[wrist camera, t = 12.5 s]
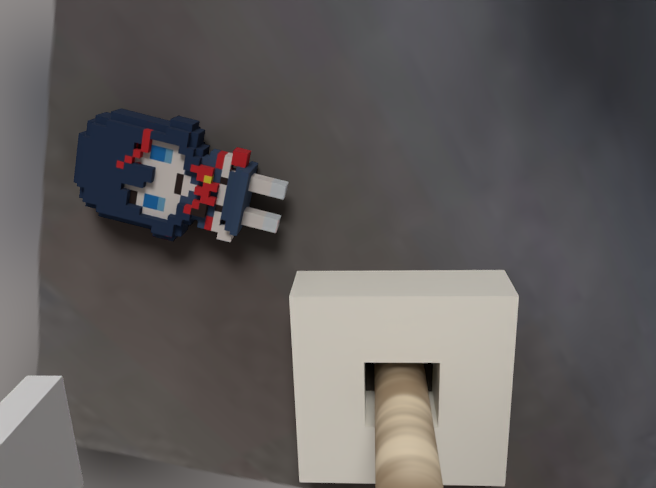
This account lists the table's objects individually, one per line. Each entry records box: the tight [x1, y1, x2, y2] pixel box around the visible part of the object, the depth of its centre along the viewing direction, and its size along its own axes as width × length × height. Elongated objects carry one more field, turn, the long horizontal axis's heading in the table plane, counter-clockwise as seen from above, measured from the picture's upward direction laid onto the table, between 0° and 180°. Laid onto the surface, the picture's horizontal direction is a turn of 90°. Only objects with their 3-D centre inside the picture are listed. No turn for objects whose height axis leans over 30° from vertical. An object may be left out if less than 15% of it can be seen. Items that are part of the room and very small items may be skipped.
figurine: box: [74, 109, 289, 242], centre depth 45 cm, size 9×4×15 cm
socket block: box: [289, 270, 519, 486], centre depth 49 cm, size 16×16×5 cm
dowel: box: [374, 363, 443, 488], centre depth 43 cm, size 4×4×16 cm
